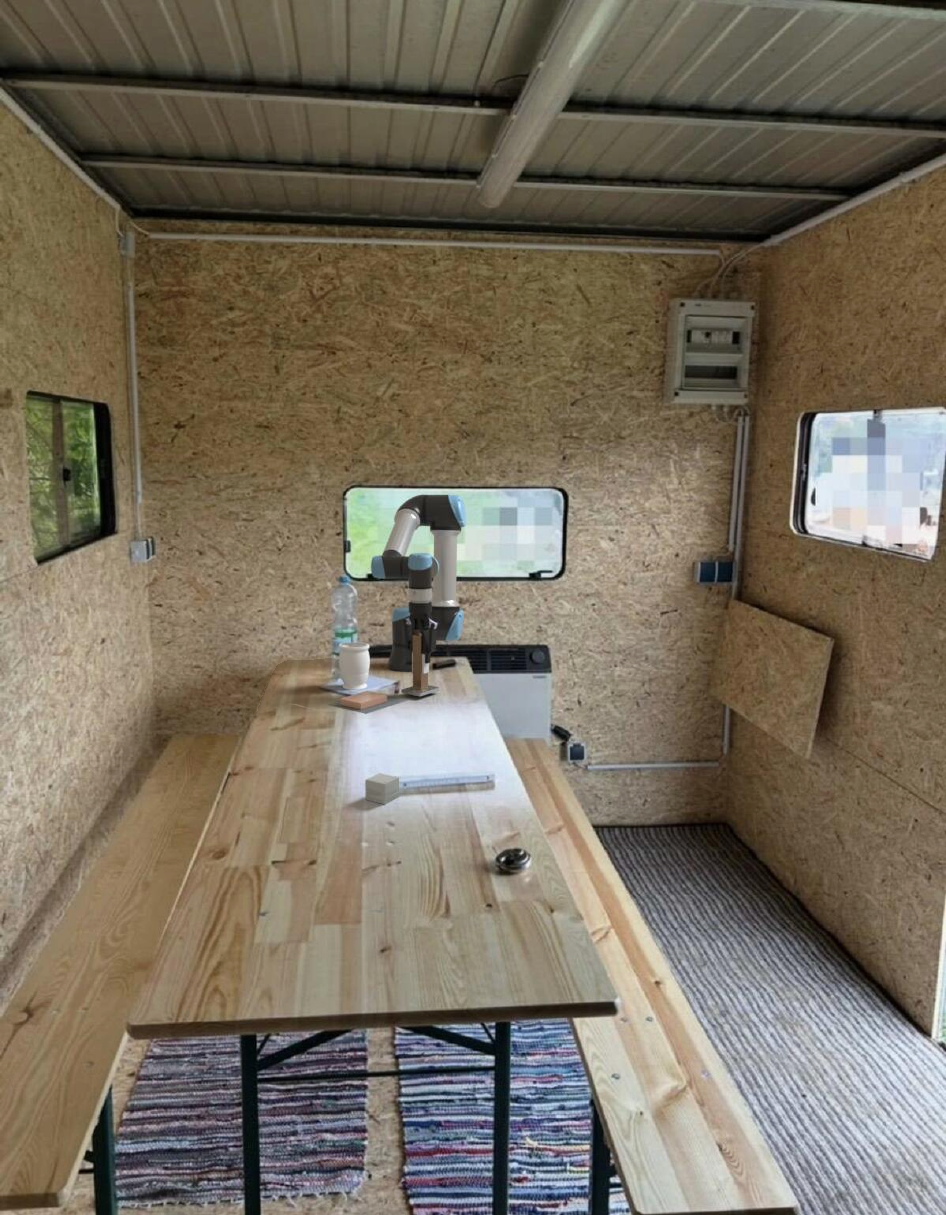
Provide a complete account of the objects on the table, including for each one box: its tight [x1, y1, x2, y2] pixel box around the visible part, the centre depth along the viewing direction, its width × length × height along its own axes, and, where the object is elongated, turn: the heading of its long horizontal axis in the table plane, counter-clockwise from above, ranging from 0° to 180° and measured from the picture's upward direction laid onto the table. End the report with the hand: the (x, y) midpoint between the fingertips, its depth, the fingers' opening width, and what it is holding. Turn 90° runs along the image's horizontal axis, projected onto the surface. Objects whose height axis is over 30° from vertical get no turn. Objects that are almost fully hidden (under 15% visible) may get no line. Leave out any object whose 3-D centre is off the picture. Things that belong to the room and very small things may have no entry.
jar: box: [338, 641, 371, 691], centre depth 295 cm, size 11×10×15 cm
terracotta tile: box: [339, 690, 388, 710], centre depth 274 cm, size 2×9×12 cm
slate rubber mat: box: [326, 692, 409, 715], centre depth 276 cm, size 20×17×1 cm
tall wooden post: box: [400, 633, 440, 697], centre depth 283 cm, size 10×8×19 cm
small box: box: [364, 772, 400, 805], centre depth 197 cm, size 6×6×5 cm
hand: (420, 671), depth 284 cm, fingers closed on tall wooden post, 3 cm apart
